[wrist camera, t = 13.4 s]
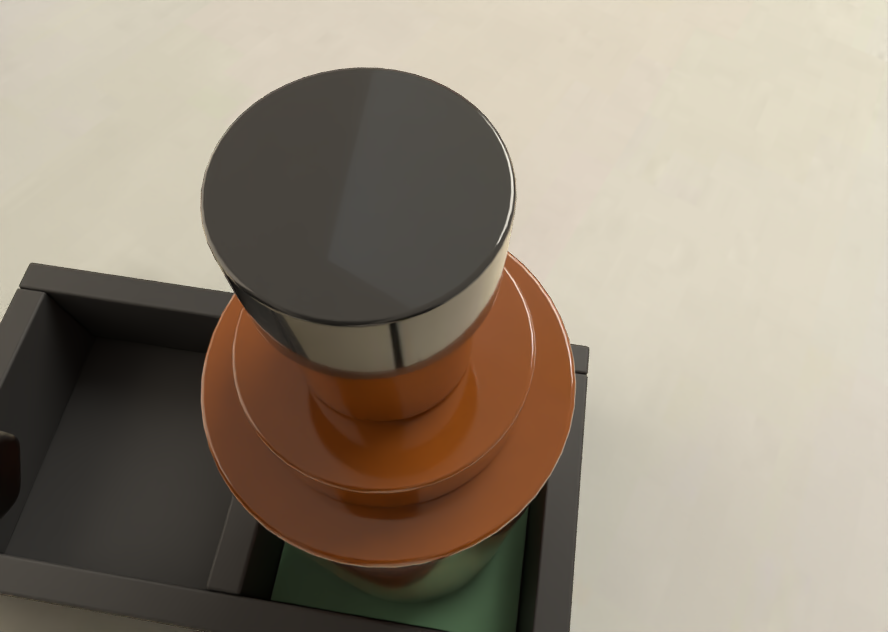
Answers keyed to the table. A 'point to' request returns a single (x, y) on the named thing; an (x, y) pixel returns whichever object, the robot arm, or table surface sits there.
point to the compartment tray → (202, 483)
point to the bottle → (379, 332)
